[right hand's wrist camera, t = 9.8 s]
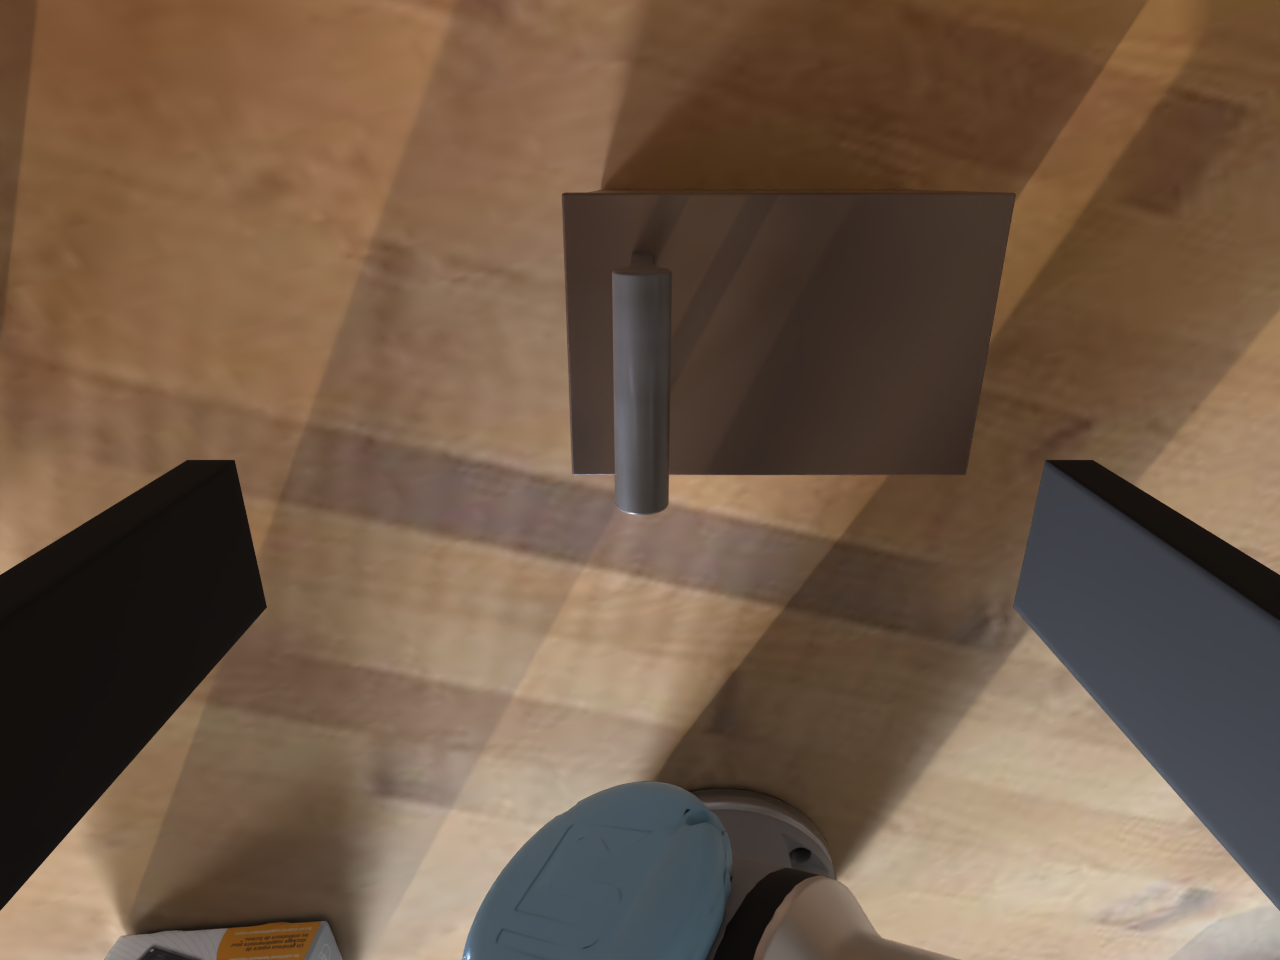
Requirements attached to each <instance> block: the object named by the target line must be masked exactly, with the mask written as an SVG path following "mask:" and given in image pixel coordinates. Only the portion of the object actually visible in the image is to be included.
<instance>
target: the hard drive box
mask: <svg viewBox="0 0 1280 960" xmlns="http://www.w3.org/2000/svg"><path fill="white" fill-rule="evenodd" d="M104 960H343V959H342V956H341V954H340V951H339V949H338V947H337V944H336V941H335V939H334V936H333V934H332V931H331V929H330V926H329V924H328V922H327V921H316V922H303V923H287V922H276V923H267V924H264V925H258V926H250V927H235V928H221V929H208V930H194V931H182V930H175V931H163V932H158V933H152V934H139V935H127V936H120V937H119V939H118V940H117V942H116V943H115V944H114V946H113V947H112V949H111V950H110V951H109V953H108V954H107V956H106V957H105V958H104Z"/></svg>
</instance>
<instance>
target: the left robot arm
mask: <svg viewBox="0 0 1280 960" xmlns="http://www.w3.org/2000/svg"><path fill="white" fill-rule="evenodd" d="M462 960H960V959H957V958H953V957H949V956H946V955H942V954H938V953H935V952H931V951H928V950H924V949H920V948H917V947H913V946H910V945H906V944H902V943H899V942H895V941H891V940H888V939H884V938H882V937H881V936H880V935H879V934H878V933H877V932H876V930H875V929H874V927H873V926H872V924H871V922H870V921H869V919H868V917H867V916H866V914H865V912H864V911H863V909H862V908H861V906H860V904H859V903H858V901H857V899H856V898H855V896H854V895H853V893H852V892H851V891H850V890H849V889H848V887H846V886H845V885H844V884H842V883H841V882H839V881H837V880H836V875H835V871H834V867H833V864H832V860H831V857H830V853H829V850H828V847H827V844H826V842H825V840H824V838H823V836H822V835H821V833H820V832H819V830H818V829H817V827H816V826H815V825H814V824H813V823H812V822H811V821H810V820H809V819H808V818H807V817H806V816H805V815H804V814H802V813H801V812H799V811H798V810H797V809H795V808H794V807H792V806H790V805H789V804H787V803H785V802H782V801H780V800H778V799H776V798H773V797H770V796H768V795H764V794H760V793H757V792H752V791H747V790H738V789H707V790H699V791H693V792H689V791H687V790H685V789H683V788H681V787H678V786H676V785H672V784H669V783H663V782H655V781H644V782H633V783H627V784H622V785H618V786H615V787H612V788H609V789H606V790H603V791H600V792H598V793H596V794H593V795H591V796H589V797H587V798H585V799H583V800H581V801H580V802H578V803H577V804H576V805H575V806H574V807H572V808H571V809H570V810H568V811H567V812H565V813H563V814H561V815H558V816H556V817H555V818H554V819H552V820H551V821H550V822H548V823H547V824H546V825H545V826H544V827H542V828H541V829H540V830H539V831H538V832H537V833H536V834H535V835H534V836H533V837H532V838H531V839H530V840H528V841H527V842H526V843H525V844H524V845H523V847H522V848H521V849H520V850H519V851H518V852H517V853H516V854H515V855H514V857H513V858H512V859H511V860H510V862H509V863H508V864H507V865H506V867H505V868H504V869H503V871H502V872H501V873H500V875H499V876H498V878H497V879H496V881H495V882H494V884H493V885H492V887H491V888H490V890H489V892H488V893H487V895H486V897H485V899H484V900H483V902H482V904H481V906H480V908H479V910H478V912H477V914H476V917H475V919H474V921H473V924H472V926H471V929H470V931H469V934H468V937H467V940H466V944H465V948H464V952H463V957H462Z"/></svg>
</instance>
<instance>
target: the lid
mask: <svg viewBox="0 0 1280 960" xmlns="http://www.w3.org/2000/svg"><path fill="white" fill-rule="evenodd" d="M1014 201H1015V194H1014V193H563V194H562V209H563V236H564V263H565V291H566V318H567V345H568V372H569V399H570V426H571V453H572V473H573V475H615V504H616V506H617V508H618V509H619V510H621V511H623V512H625V513H629V514H635V515H649V514H655V513H658V512H661V511H663V510H664V509H666V507H667V506H668V501H669V475H966V471H967V466H968V460H969V455H970V449H971V443H972V438H973V432H974V426H975V421H976V415H977V409H978V404H979V398H980V393H981V387H982V381H983V376H984V370H985V364H986V359H987V353H988V347H989V342H990V336H991V331H992V325H993V319H994V314H995V308H996V302H997V297H998V291H999V285H1000V280H1001V274H1002V269H1003V263H1004V257H1005V252H1006V246H1007V240H1008V235H1009V229H1010V223H1011V218H1012V212H1013V207H1014Z"/></svg>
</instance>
